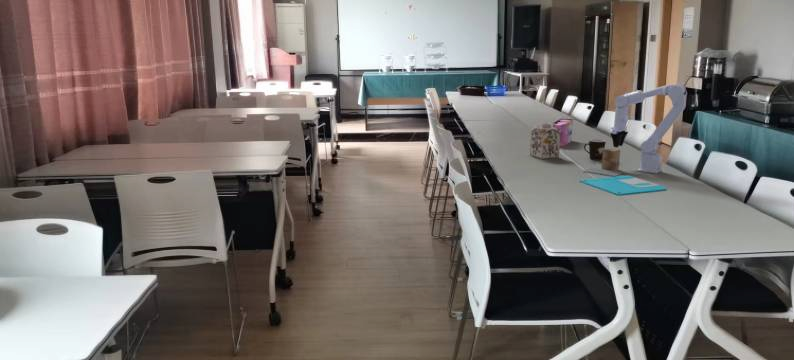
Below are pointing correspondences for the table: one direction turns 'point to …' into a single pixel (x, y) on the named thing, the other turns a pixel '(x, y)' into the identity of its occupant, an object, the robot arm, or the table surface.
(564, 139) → the gum box
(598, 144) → the coffee mug
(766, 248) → the table surface
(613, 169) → the cardboard box
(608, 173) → the slate mat
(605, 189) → the diskette
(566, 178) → the table surface
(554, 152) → the decorative jar
